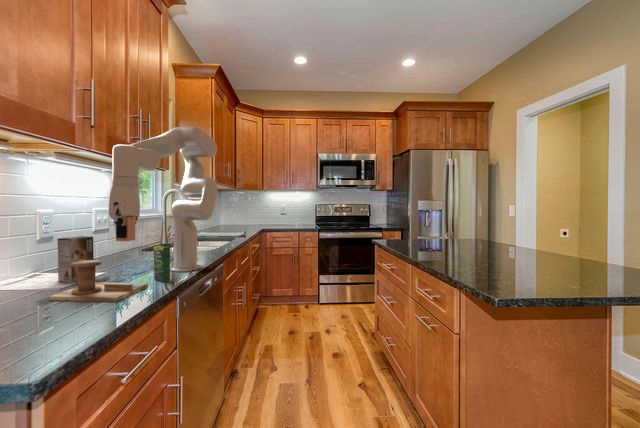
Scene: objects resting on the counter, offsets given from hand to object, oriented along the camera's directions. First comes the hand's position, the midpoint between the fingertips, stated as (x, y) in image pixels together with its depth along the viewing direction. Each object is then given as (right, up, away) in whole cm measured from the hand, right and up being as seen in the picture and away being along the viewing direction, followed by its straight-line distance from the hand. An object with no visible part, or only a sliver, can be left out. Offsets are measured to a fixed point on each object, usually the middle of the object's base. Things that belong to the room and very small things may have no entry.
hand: (125, 236), depth 105 cm
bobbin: (-8, -17, -7) cm, 20 cm away
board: (-5, -18, -3) cm, 19 cm away
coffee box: (-27, -17, +14) cm, 35 cm away
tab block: (0, -1, 0) cm, 1 cm away
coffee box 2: (+5, -18, +14) cm, 24 cm away
